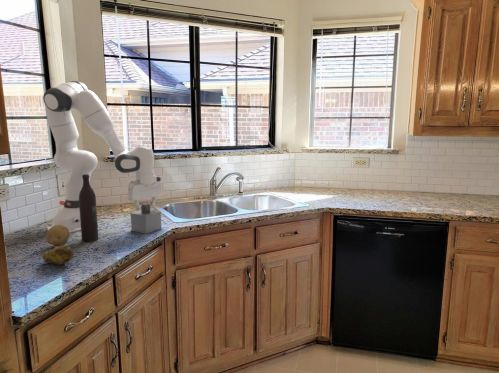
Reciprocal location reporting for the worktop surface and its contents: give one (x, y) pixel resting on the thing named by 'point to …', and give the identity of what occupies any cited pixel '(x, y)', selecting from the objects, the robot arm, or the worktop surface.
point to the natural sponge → (57, 235)
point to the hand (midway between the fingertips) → (145, 206)
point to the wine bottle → (88, 211)
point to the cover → (145, 220)
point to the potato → (58, 255)
